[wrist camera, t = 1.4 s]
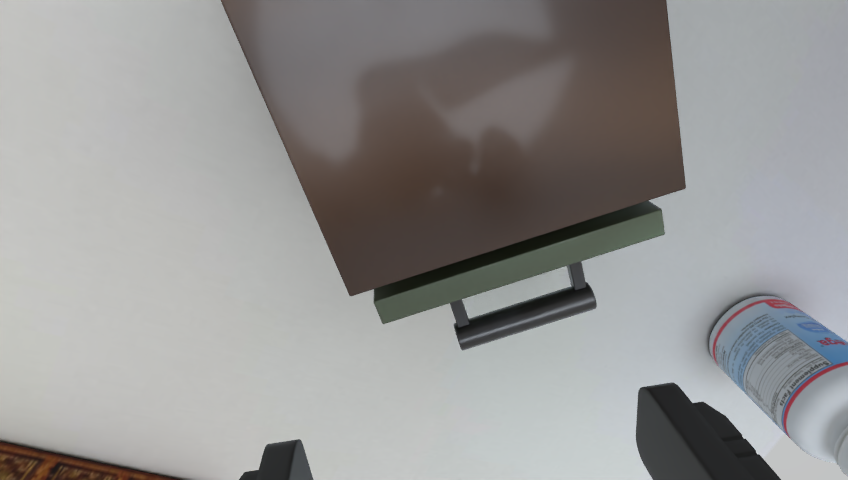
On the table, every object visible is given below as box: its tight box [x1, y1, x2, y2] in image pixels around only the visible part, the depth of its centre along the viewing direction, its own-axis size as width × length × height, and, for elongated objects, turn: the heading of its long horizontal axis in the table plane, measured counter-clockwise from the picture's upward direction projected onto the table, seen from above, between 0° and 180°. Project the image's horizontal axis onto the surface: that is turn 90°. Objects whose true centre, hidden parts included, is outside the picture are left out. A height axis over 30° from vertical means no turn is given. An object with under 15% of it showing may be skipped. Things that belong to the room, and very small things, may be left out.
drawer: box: [374, 201, 665, 350], centre depth 23 cm, size 20×12×8 cm, turn 18°
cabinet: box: [221, 0, 686, 296], centre depth 21 cm, size 17×14×10 cm
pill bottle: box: [709, 296, 848, 476], centre depth 29 cm, size 6×6×11 cm
